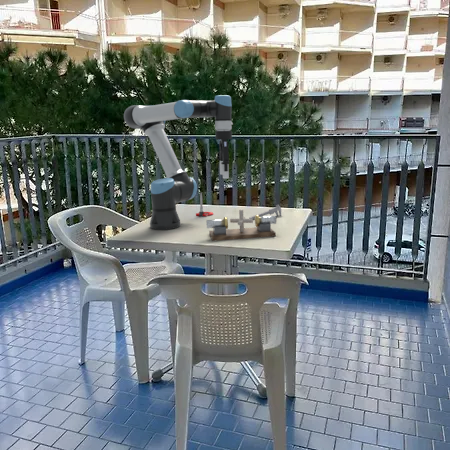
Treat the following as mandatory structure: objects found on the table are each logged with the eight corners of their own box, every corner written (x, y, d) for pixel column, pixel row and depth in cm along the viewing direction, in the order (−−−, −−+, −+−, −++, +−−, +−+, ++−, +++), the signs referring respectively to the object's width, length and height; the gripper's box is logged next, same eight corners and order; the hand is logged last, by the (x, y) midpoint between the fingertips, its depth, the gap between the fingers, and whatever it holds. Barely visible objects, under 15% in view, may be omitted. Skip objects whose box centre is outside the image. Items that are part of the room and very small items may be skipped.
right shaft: (257, 232, 187) (257, 216, 186) (254, 229, 193) (254, 213, 192) (277, 230, 189) (277, 215, 187) (273, 227, 194) (273, 212, 193)
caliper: (280, 215, 228) (280, 204, 226) (281, 215, 227) (281, 204, 225) (247, 220, 219) (246, 208, 217) (248, 220, 218) (247, 208, 217)
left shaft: (208, 235, 185) (207, 220, 183) (206, 232, 191) (205, 217, 189) (228, 234, 186) (227, 218, 184) (226, 231, 192) (225, 215, 190)
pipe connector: (251, 234, 184) (250, 212, 181) (228, 234, 186) (227, 212, 183) (254, 229, 193) (254, 207, 191) (232, 228, 195) (232, 207, 193)
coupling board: (212, 240, 182) (212, 237, 182) (209, 233, 194) (209, 230, 194) (275, 236, 186) (275, 232, 186) (269, 229, 197) (269, 226, 197)
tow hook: (203, 213, 242) (194, 215, 234) (202, 190, 239) (193, 192, 231) (215, 214, 238) (207, 217, 230) (215, 191, 235) (206, 193, 227)
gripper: (235, 131, 183) (235, 179, 188) (228, 129, 207) (229, 172, 212) (217, 131, 182) (218, 180, 188) (213, 129, 206) (214, 173, 212)
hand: (224, 176), depth 200 cm, fingers open, 13 cm apart
